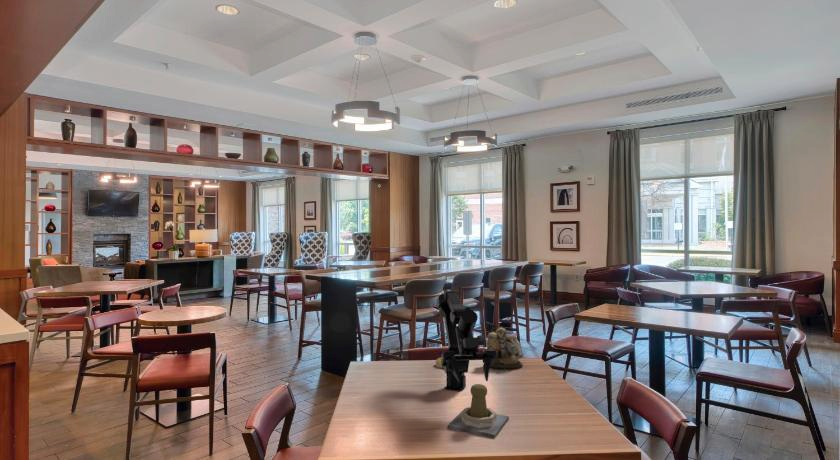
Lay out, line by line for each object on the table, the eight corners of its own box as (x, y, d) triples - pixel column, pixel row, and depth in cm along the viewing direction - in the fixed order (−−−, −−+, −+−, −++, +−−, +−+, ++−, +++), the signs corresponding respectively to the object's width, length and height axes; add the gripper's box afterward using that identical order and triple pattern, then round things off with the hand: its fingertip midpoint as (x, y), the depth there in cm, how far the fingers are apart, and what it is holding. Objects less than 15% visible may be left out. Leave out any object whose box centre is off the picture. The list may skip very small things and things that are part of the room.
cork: (481, 425, 144) (481, 389, 144) (465, 420, 148) (465, 385, 148) (492, 420, 148) (492, 385, 148) (476, 414, 152) (476, 380, 152)
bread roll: (441, 362, 216) (441, 354, 216) (458, 365, 211) (458, 356, 211) (431, 367, 209) (431, 358, 209) (449, 370, 204) (449, 361, 204)
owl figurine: (484, 370, 204) (484, 330, 204) (479, 363, 215) (479, 325, 215) (526, 369, 205) (525, 330, 205) (518, 362, 216) (518, 324, 216)
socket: (447, 428, 144) (447, 417, 144) (464, 411, 158) (464, 400, 158) (495, 438, 138) (495, 426, 138) (508, 419, 151) (508, 408, 151)
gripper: (442, 327, 158) (449, 370, 147) (496, 326, 161) (506, 368, 150) (438, 345, 166) (444, 387, 155) (489, 343, 169) (498, 384, 158)
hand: (473, 381), depth 154 cm, fingers open, 9 cm apart
